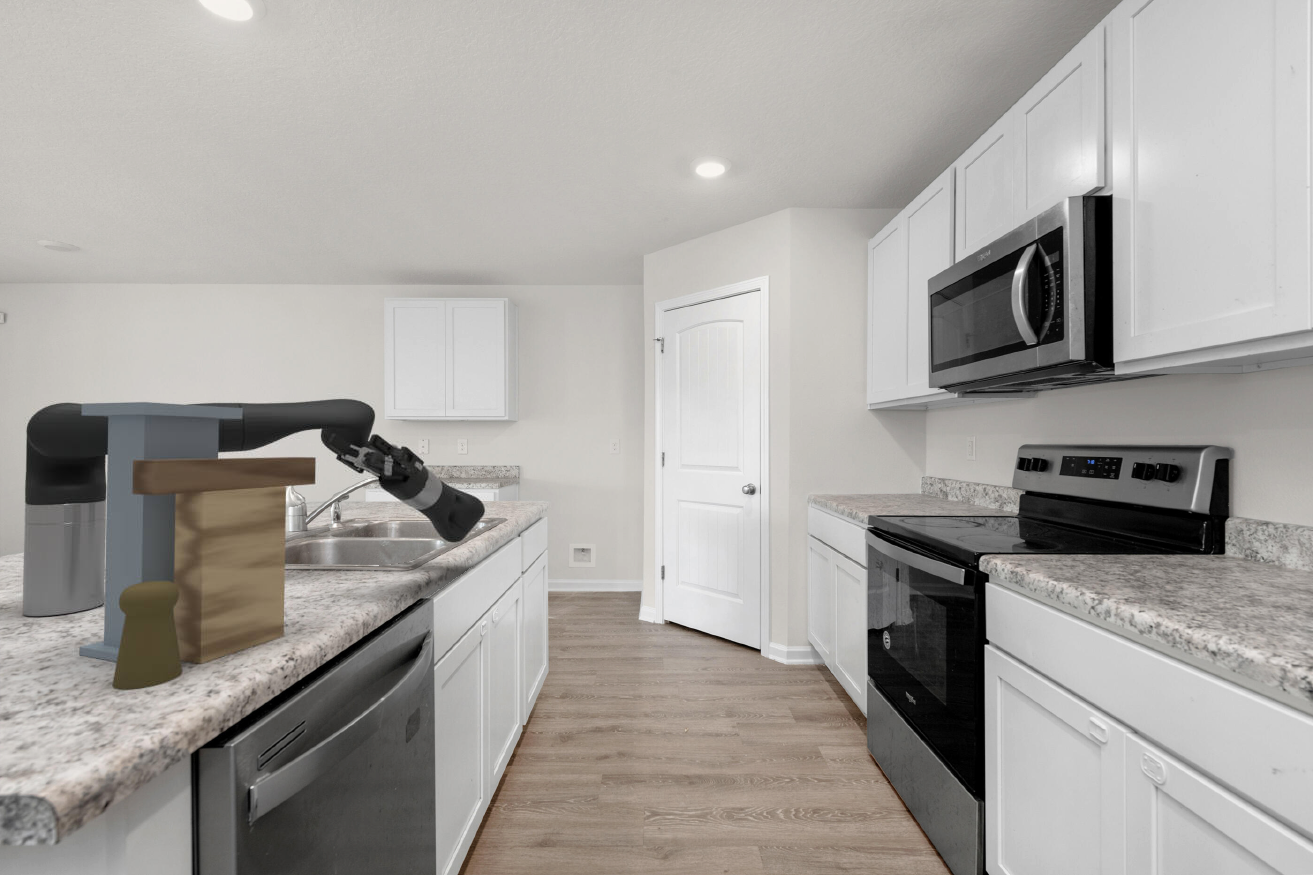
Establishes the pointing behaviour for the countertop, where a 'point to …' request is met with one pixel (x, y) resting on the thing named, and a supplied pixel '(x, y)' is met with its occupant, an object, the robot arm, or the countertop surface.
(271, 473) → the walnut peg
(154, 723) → the countertop surface
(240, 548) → the oak post
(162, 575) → the blue grey stand
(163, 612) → the cork
